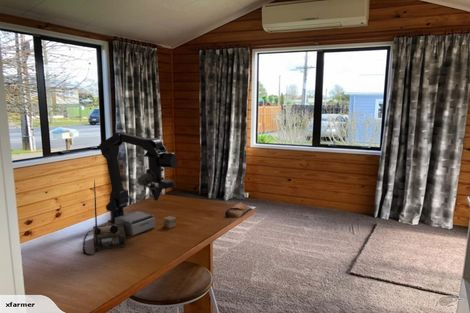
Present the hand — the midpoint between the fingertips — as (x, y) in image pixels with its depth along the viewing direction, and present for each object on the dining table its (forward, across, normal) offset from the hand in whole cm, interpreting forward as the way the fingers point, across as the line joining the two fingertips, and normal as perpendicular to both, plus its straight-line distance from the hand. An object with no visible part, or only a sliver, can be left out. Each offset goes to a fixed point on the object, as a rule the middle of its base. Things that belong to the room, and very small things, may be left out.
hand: (156, 200), depth 161 cm
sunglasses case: (+13, +17, +40) cm, 46 cm away
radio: (+13, 0, -27) cm, 30 cm away
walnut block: (+13, +4, +4) cm, 14 cm away
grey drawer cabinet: (+13, -6, -8) cm, 16 cm away
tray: (+12, -5, -8) cm, 15 cm away
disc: (+11, -5, -8) cm, 14 cm away
